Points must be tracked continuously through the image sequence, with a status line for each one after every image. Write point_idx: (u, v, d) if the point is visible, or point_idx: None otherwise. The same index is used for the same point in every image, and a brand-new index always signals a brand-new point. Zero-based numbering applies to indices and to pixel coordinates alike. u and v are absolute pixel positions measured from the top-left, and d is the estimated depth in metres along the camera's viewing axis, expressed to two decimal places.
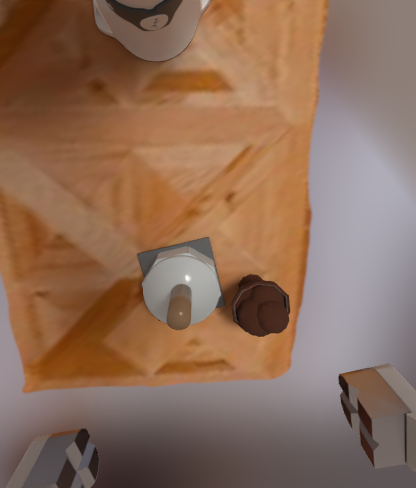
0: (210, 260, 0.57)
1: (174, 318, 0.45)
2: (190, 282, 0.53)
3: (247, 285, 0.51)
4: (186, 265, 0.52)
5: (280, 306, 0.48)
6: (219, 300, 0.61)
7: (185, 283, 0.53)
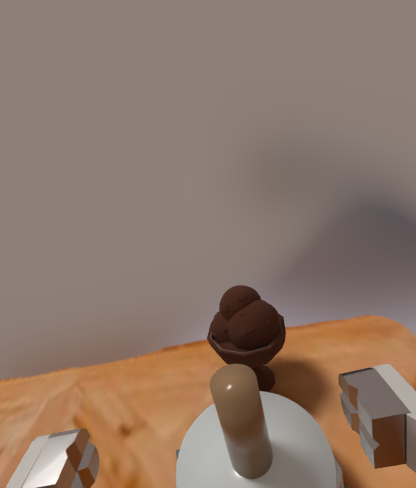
0: None
1: (230, 388, 0.23)
2: None
3: (214, 348, 0.37)
4: (193, 451, 0.28)
5: None
6: None
7: None
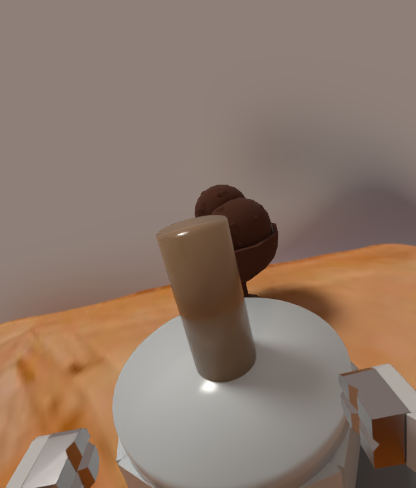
0: None
1: (185, 230, 0.15)
2: None
3: None
4: (144, 361, 0.20)
5: None
6: None
7: None
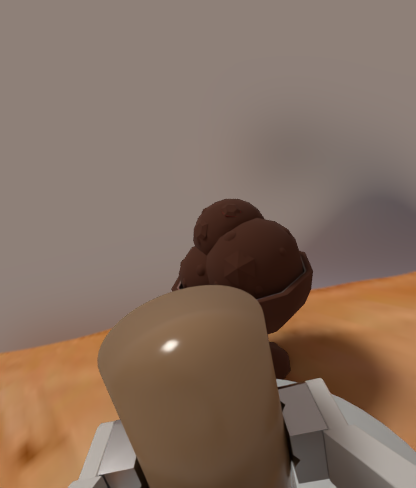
0: None
1: (166, 347, 0.06)
2: None
3: None
4: None
5: None
6: None
7: None
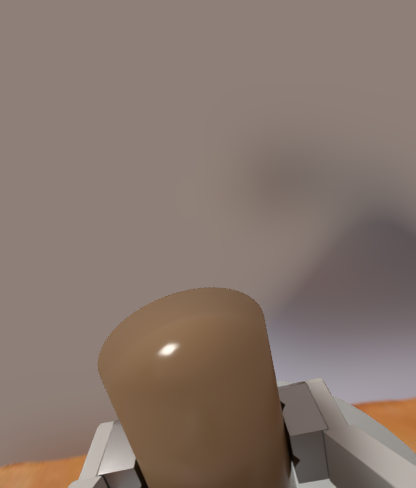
0: None
1: (167, 350, 0.06)
2: None
3: None
4: None
5: None
6: None
7: None
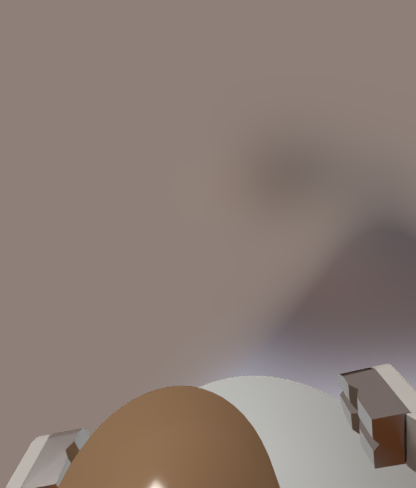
0: None
1: None
2: None
3: None
4: None
5: None
6: None
7: None
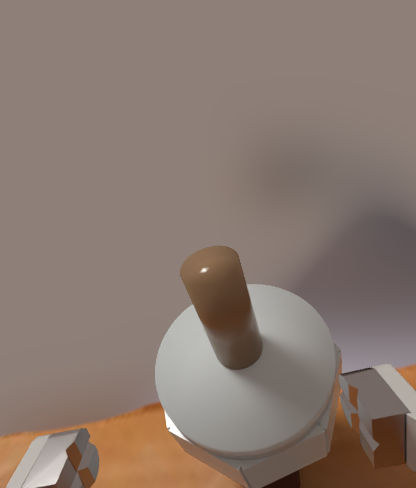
0: None
1: (205, 272, 0.18)
2: None
3: None
4: (173, 350, 0.25)
5: None
6: None
7: None
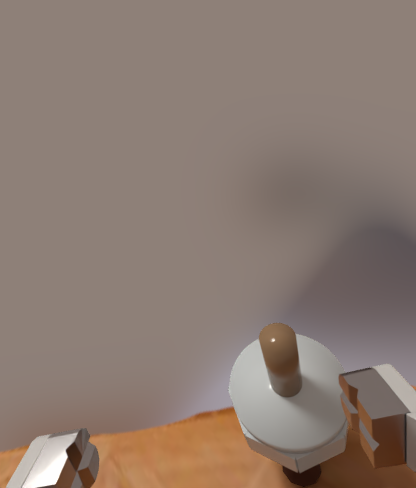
0: None
1: (276, 343, 0.30)
2: (265, 371, 0.37)
3: None
4: (240, 381, 0.37)
5: None
6: None
7: (268, 378, 0.37)
